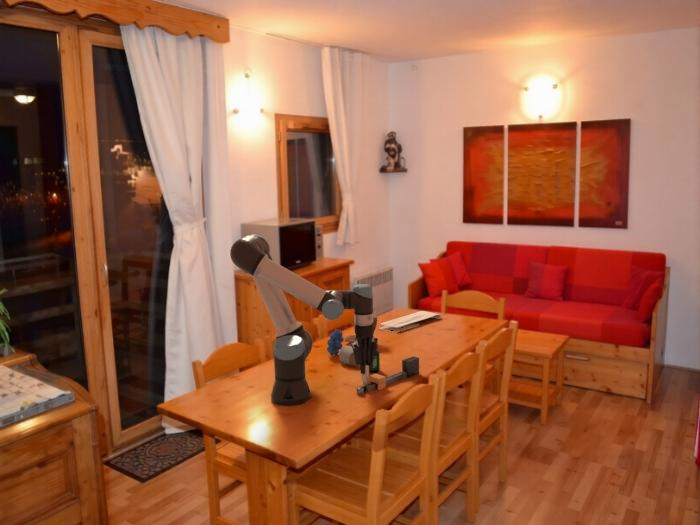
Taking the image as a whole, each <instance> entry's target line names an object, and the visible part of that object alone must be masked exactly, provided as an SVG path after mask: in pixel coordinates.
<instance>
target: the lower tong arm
mask: <svg viewBox="0 0 700 525" xmlns="http://www.w3.org/2000/svg"><path fill="white" fill-rule="evenodd" d="M415 357H416V358H413V359H410V360H407V361H405V367H406V372H403V373H400V374H398V375H395V376H392V377H390V378H387V379H386V386H388V385H391V384H394V383H396V382H401V381H403V380H406V379H409V378H412V377H415V376H418V375H419V374H420V357H417V356H415ZM365 388H366V391H365V393H366V394H367V393H368V394H369V393H371V392H373V391H376V390H378V384H377V383H374V384H371V385H369V386H366V387H365Z"/></svg>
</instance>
